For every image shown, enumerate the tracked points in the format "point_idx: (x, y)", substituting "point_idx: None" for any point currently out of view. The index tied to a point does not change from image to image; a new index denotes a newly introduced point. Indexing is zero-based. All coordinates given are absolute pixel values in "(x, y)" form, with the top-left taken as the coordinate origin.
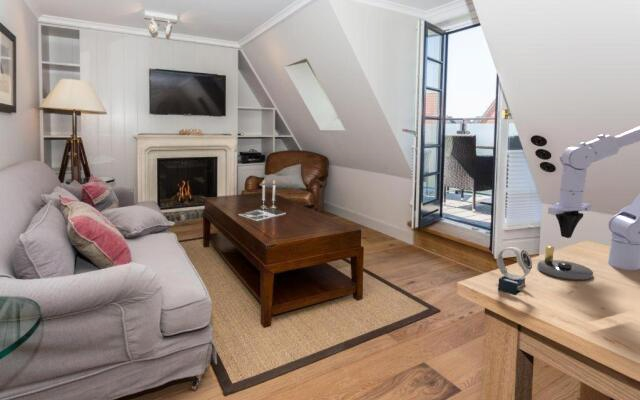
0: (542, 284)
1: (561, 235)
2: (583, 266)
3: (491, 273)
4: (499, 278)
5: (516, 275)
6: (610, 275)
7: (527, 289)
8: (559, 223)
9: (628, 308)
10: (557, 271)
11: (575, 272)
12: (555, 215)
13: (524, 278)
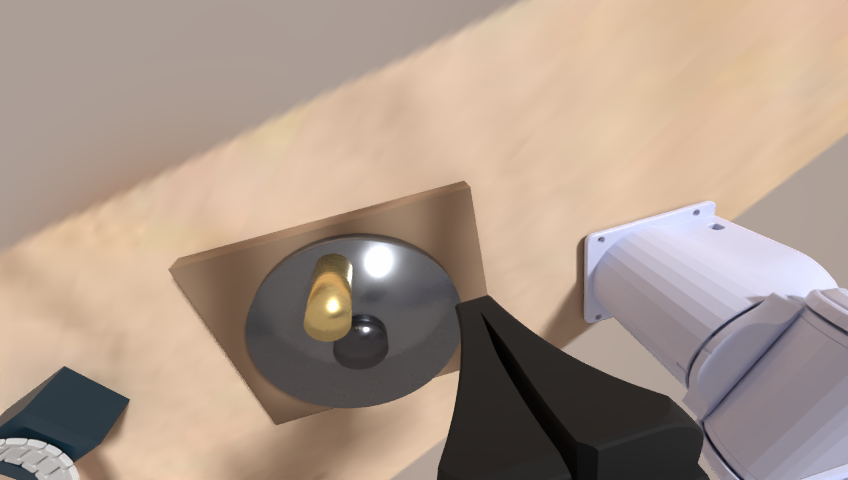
0: (227, 367)
1: (456, 310)
2: (457, 321)
3: (4, 262)
4: None
5: (61, 431)
6: (544, 303)
7: (143, 401)
8: (460, 385)
9: (384, 473)
10: (302, 366)
11: (371, 373)
12: (440, 463)
13: (95, 446)
